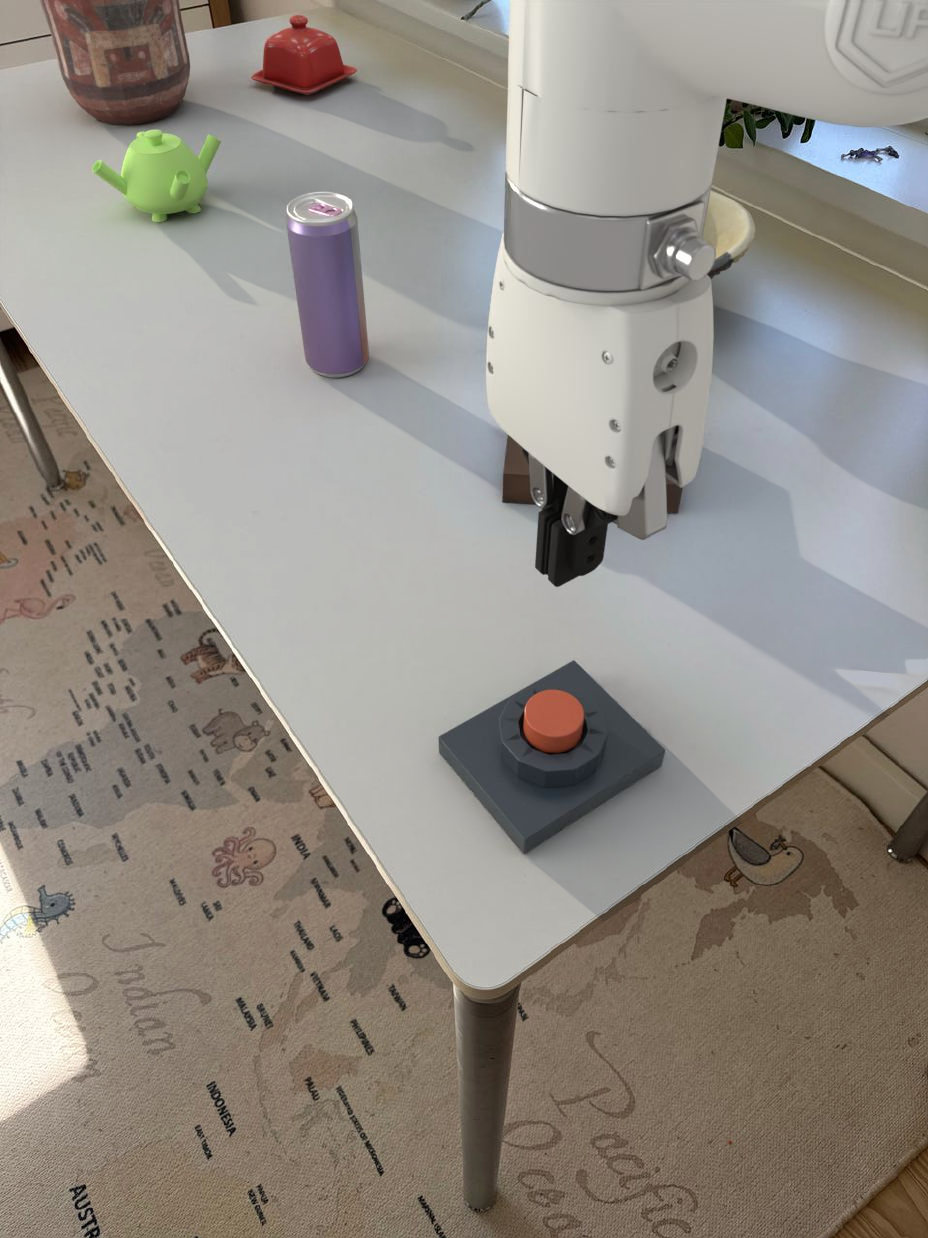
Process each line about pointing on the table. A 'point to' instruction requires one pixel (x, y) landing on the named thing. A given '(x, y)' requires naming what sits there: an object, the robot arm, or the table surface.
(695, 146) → the robot arm
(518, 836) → the box
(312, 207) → the beverage can
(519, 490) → the plate
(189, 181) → the teapot
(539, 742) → the release button
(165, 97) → the pottery
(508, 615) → the table surface
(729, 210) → the bowl
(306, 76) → the butter dish
